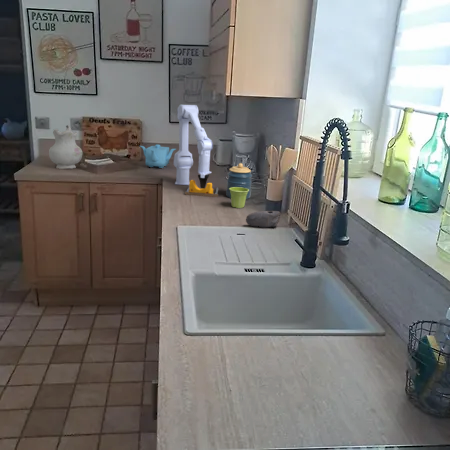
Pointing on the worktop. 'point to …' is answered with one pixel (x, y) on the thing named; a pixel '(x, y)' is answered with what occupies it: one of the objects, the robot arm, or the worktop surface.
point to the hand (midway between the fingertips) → (202, 188)
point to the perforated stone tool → (263, 218)
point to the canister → (239, 179)
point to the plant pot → (238, 196)
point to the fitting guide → (202, 193)
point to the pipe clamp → (195, 189)
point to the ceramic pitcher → (65, 149)
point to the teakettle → (157, 155)
